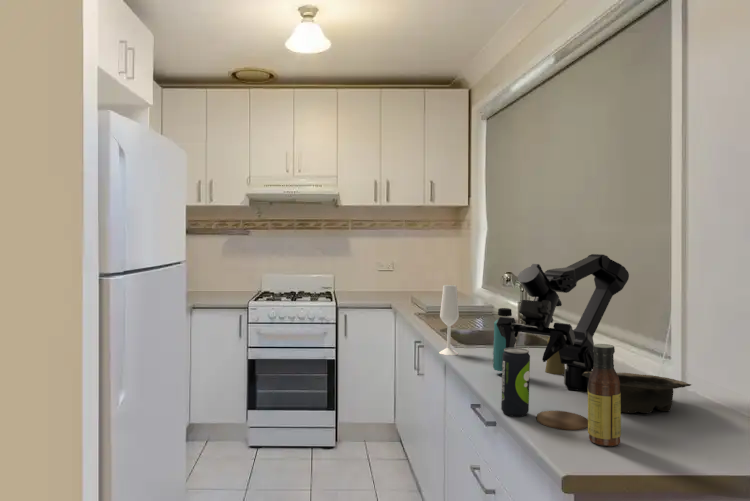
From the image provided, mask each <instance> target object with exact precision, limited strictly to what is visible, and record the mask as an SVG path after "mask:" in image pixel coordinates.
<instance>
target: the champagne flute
mask: <svg viewBox="0 0 750 501" xmlns="http://www.w3.org/2000/svg"><path fill="white" fill-rule="evenodd" d="M441 294H442V296H441V305H440V309H439V310H440V312H439V318H440V320H441V322H442V323H444V324H445V325H446V326H447V332H446V334H447V335H446V336H447V338H446V348H443V349H442V350H441V351H439V352H438V353H439V354H440V355H445V356H456V355H458V354H459V353H458V351H456V350H454V349H453V348H451V340H452V338H451V337H452V336H451V335H452V333H451V332H452V331H451V330H452V329H451V328H452V326H454V324H456V323H457V321H458V320H459V319H460V314H459V300H458V299H459V297H458V286H457V285H454V284H453V285H452V284H451V285H450V284H444V285H443V286H442V293H441Z"/></svg>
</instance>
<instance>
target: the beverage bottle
mask: <svg viewBox="0 0 750 501" xmlns="http://www.w3.org/2000/svg"><path fill="white" fill-rule="evenodd" d="M512 312H513V311H512V308H508V307H507V308H506V307H500V308H499V307H498V311H497V316H500V317H512ZM497 320H498V319H496V320H495V321H494V322H493V325H494V326H493V348H492V349H493V350H492V367H493V370H494V371H497V372H502V363H503V352H504V349H505V348H506V339H505V338H504V337H503V336H501V333H500V331H499V329H498V327H497V325H496V323H497ZM515 345H516V344H515ZM515 345H514V347H513V348H516V347H515Z"/></svg>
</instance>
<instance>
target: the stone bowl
mask: <svg viewBox="0 0 750 501" xmlns="http://www.w3.org/2000/svg"><path fill="white" fill-rule="evenodd" d="M591 372H592V371H590V372H584V373H583V374H582V376H585V377H588V378H589V376H590V374H591ZM616 373H617V375H618V377H619V381H620V393H621V413H623V414H634V413H637V412H639V413H641V414H649V413H652V412H653V411H654V409H656V410H658V411H660V412H670V411H671V409H672V406H673V398H674V389H675V390H676V389H680V388H685V387H691V386H692V384H691V383H687V382H686V381H685V382H684V381H682V380H678V379H674V378H671V377H670V378H669V377H666V376H665V377H663V376H658V375H652V374H651V375H650V374H649V375H647V374H641V373H640V374H639V373H630V372H616Z"/></svg>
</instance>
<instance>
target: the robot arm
mask: <svg viewBox="0 0 750 501" xmlns="http://www.w3.org/2000/svg"><path fill="white" fill-rule="evenodd" d="M590 275H592V276H593V277H594V278H593V281H594V287H595V288H594V290H593V293H592V295H591V297H590V298H589V300H588V303H587V305H586V307H585V309H584V311H583V312H582V314H581V316H580V319H579V321H578V323H577V325H576V327H575V328H573V326H572V324H570V323H564V322H555V323H553V322H554V313H555V310H556V308H557V307H562V304H563V303H562V301H561V299H560V295H559V294H558V293H564V294H565V293H566V294H567V293H568V294H569V292H571V291H572V290H574V289H575V288H576V287H577V283H578V282H579V281H581V280H582V279H584V278H586V277H588V276H590ZM629 277H630V274H629V271H628V270H627V268H626V267H625V266H623V265H622V264H621V263H619V262H618V261H615V260H613V259H611V258H610V257H609V256H608V255H605V254H601V253H600V254H599V253H598V254H597V253H592V254H588V255H587V257H585V258H583V259H581V260H578V261H576V262H574V263H572V264H569V265H568V266H566V267H559V268H551V269H547V270H546V271H543V268H542V267H541V265H540V264H539V263H531V266H528V267H526V268H524V269H523V270H521V271H519V273H518V275H517V280H518V282H519V283H520V285H521V286H522V287H523V289H524V290H525V292H526V293H527V295H528V296H530V297H531V298H532V297H533V298H534V299H533V300H529V299H521V300H520V305H519V310H518V312H519V314H521V316H522V317H521V318H522V322H525V323H517V321H516V319H515V317H511V316H500V317H498V318H497V319H496V320H497V323H496V325H497V327H498V329H499V331H500V333H501V336H503V337H504V338H505V339H506V348H513V347H514V345H516V343H517V337H518V335H519V333H524V334H531V335H535V336H542V337H543V336H544V337H550V339H549V342H548V343H547V344H546V347H545V350H544V352H543V355H542V362H543V363H547V360H548V359H549V358H550V357H551V356H553V355H554V354H555V353H556V352H558V351H559V355H560V360H561V364H565V365H566V367H565V370H564V374H563V384H564V385H565V387H566V389H567V390H568V391H582V392H583V391H584V392H588V382H589V378H588V377H585V376H582V374H583V373H584V372H590V371H592V370H593V367H594V352H593V345H595V343H594V335H595V333H596V331H597V328H598V327H599V325H600V322H601V320H602V318H603V316H604V315H605V312H606V310H607V309H608V306H609V304H610V302H611V300H612V298H613V296H615V295H617V294H618V293H619V292H621V291H622V290H623V289H624V287H625V286H626V284H627V282H628V281H629ZM550 324H553V327H550Z"/></svg>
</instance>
